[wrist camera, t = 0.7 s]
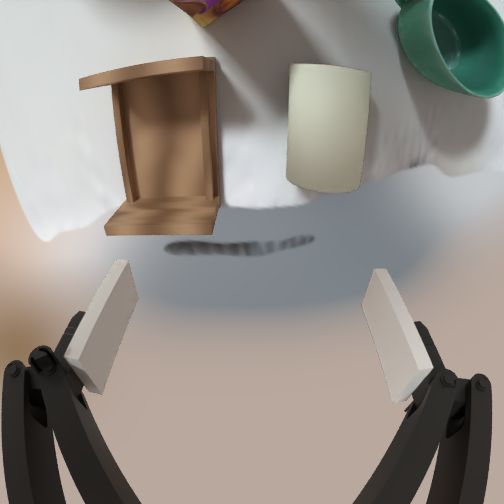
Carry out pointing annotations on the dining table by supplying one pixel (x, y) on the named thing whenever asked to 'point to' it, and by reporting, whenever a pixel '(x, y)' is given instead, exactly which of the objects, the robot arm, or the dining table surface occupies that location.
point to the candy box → (205, 9)
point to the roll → (327, 126)
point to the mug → (455, 44)
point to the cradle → (165, 146)
